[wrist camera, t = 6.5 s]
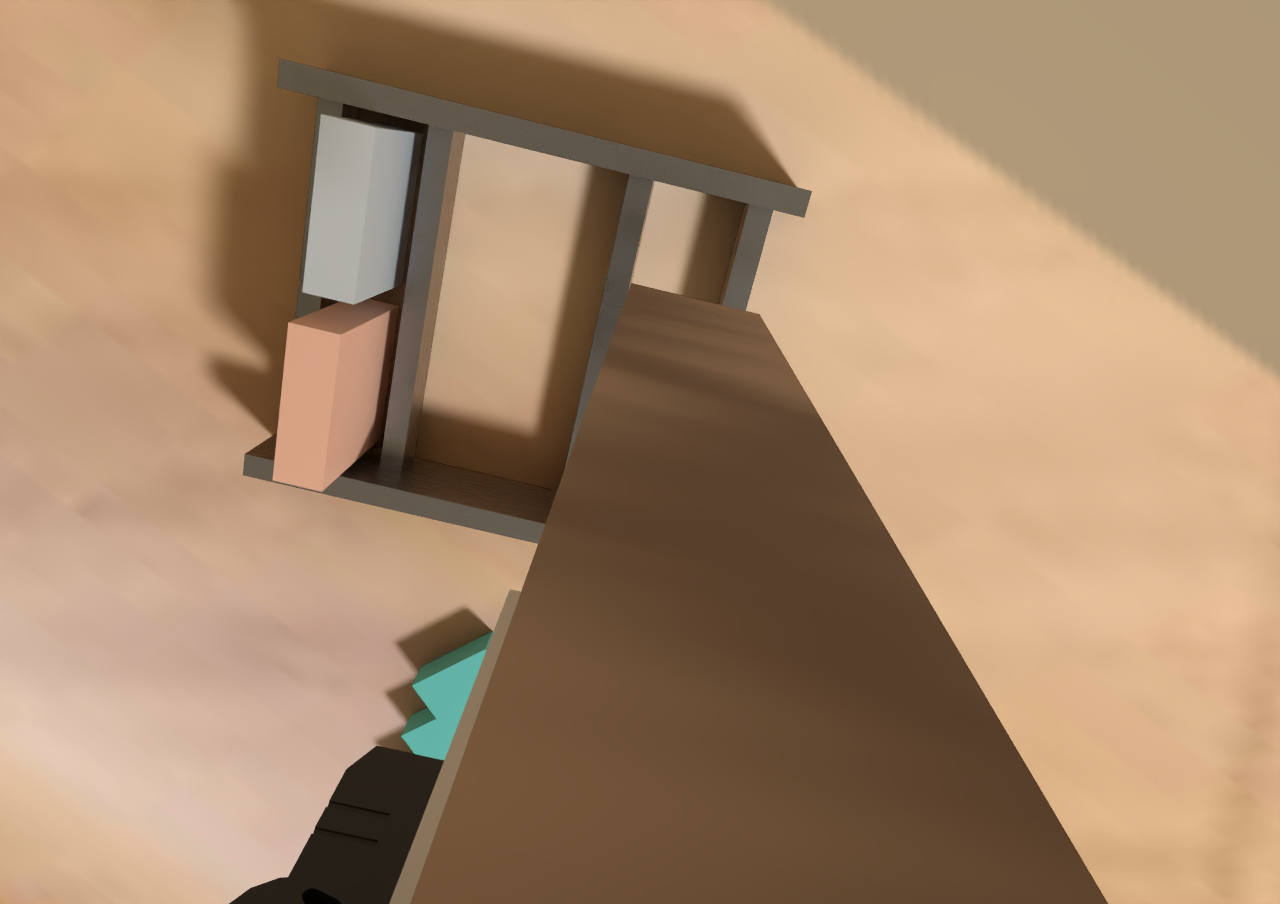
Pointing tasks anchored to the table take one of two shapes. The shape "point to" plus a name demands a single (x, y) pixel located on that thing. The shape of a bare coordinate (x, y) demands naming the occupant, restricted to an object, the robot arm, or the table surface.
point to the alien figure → (443, 698)
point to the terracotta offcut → (333, 390)
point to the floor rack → (394, 468)
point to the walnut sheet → (731, 671)
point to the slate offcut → (360, 208)
